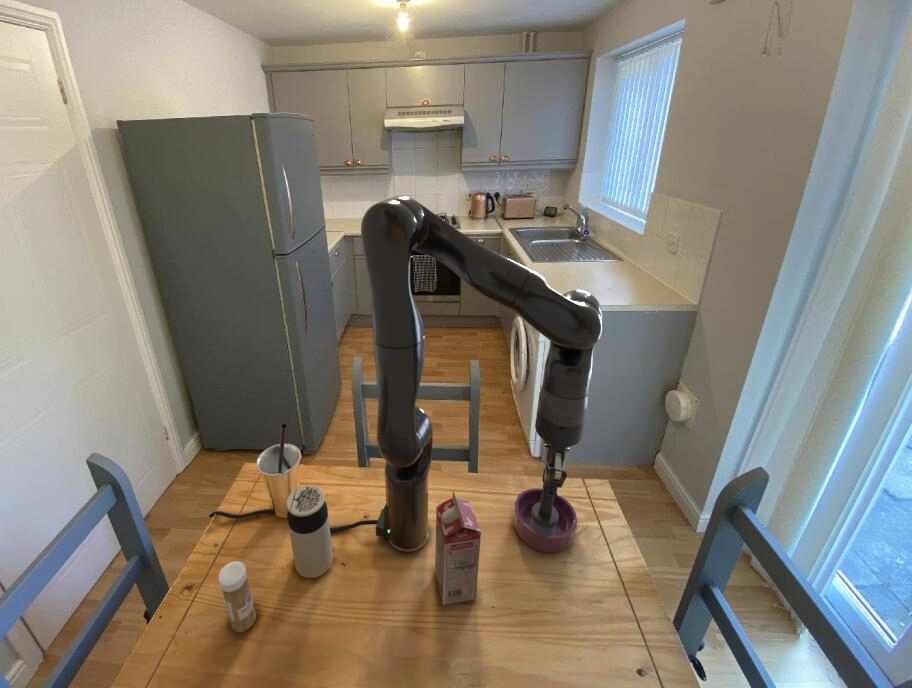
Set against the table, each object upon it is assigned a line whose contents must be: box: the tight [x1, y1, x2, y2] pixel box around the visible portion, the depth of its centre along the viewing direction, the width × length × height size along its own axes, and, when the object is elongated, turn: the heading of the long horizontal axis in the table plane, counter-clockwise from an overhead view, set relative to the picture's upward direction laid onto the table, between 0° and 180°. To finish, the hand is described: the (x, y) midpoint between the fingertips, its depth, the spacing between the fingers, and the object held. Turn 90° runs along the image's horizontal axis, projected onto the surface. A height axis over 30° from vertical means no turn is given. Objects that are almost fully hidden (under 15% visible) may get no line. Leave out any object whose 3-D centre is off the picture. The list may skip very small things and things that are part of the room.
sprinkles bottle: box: [217, 560, 257, 633], centre depth 77 cm, size 5×5×14 cm
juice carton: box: [434, 490, 482, 606], centre depth 81 cm, size 7×7×22 cm
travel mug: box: [286, 484, 334, 579], centre depth 87 cm, size 8×8×18 cm
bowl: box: [512, 487, 578, 554], centre depth 96 cm, size 13×13×5 cm
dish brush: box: [531, 470, 559, 537], centre depth 77 cm, size 5×5×15 cm
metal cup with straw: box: [256, 423, 302, 519], centre depth 97 cm, size 11×11×30 cm
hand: (548, 488), depth 76 cm, fingers closed on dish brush
